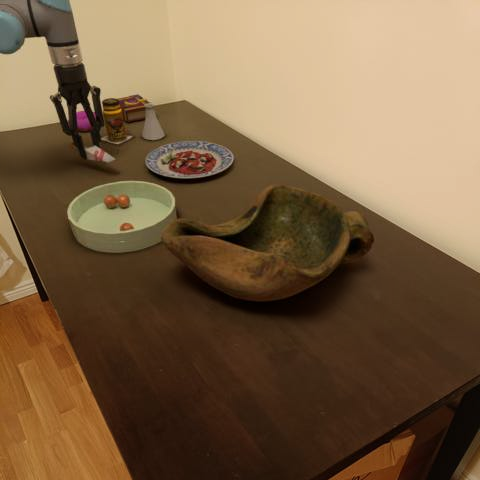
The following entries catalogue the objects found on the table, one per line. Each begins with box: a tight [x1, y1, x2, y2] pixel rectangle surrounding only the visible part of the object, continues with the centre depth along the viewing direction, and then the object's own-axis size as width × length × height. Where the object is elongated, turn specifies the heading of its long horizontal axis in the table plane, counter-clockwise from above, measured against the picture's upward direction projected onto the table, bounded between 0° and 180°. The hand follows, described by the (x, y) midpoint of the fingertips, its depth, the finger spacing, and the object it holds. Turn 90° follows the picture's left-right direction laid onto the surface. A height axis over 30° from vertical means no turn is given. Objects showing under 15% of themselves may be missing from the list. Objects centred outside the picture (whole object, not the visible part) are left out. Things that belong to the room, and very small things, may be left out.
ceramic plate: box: [145, 140, 234, 180], centre depth 126 cm, size 26×26×3 cm
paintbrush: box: [67, 140, 116, 163], centre depth 123 cm, size 4×3×20 cm
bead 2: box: [117, 194, 130, 208], centre depth 107 cm, size 3×3×3 cm
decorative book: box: [117, 93, 152, 123], centre depth 157 cm, size 11×16×5 cm
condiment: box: [101, 97, 133, 145], centre depth 138 cm, size 7×8×12 cm
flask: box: [141, 102, 166, 141], centre depth 140 cm, size 7×7×10 cm
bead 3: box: [120, 223, 134, 231], centre depth 97 cm, size 3×3×3 cm
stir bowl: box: [66, 180, 178, 254], centre depth 102 cm, size 25×25×5 cm
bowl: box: [161, 183, 375, 302], centre depth 83 cm, size 39×29×15 cm
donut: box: [67, 110, 96, 133], centre depth 148 cm, size 10×10×5 cm
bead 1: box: [104, 195, 117, 208], centre depth 106 cm, size 3×3×3 cm
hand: (91, 155), depth 124 cm, fingers closed on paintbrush, 4 cm apart
